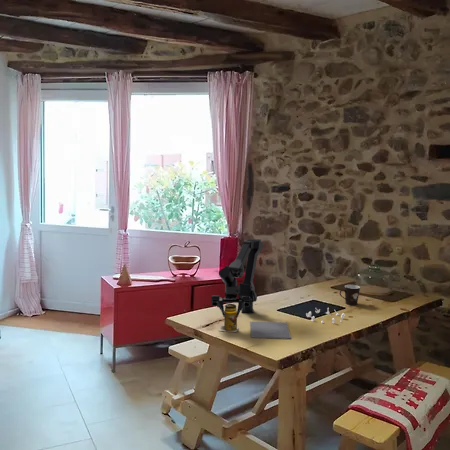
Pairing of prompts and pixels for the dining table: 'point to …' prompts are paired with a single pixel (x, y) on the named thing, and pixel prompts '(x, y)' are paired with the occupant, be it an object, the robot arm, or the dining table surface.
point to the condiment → (230, 319)
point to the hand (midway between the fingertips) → (230, 316)
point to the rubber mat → (270, 330)
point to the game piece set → (327, 313)
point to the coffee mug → (351, 294)
